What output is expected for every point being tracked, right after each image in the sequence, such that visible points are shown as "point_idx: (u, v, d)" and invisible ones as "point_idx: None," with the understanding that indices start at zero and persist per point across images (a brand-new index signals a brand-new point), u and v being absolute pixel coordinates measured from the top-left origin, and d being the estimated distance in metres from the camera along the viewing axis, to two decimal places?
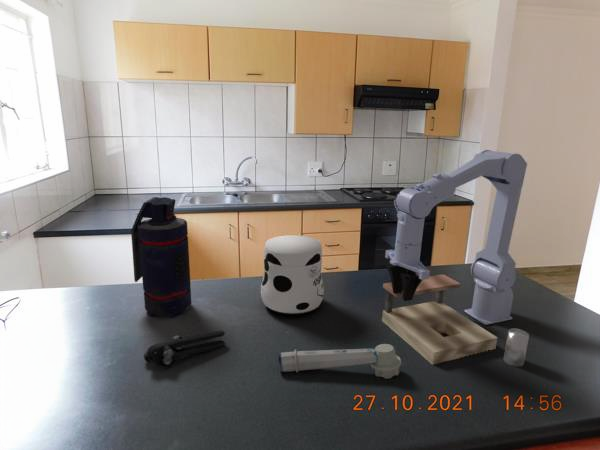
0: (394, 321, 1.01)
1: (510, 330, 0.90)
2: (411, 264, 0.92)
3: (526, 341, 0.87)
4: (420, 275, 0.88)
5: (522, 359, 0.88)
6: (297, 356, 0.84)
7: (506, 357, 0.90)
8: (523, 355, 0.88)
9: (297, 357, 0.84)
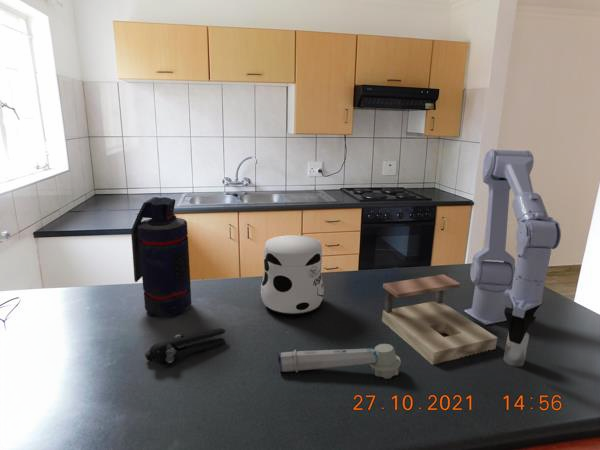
0: (394, 321, 1.01)
1: None
2: (519, 299, 0.84)
3: (526, 341, 0.87)
4: (513, 310, 0.82)
5: (522, 359, 0.88)
6: (297, 356, 0.84)
7: (506, 357, 0.90)
8: (523, 355, 0.88)
9: (297, 357, 0.84)
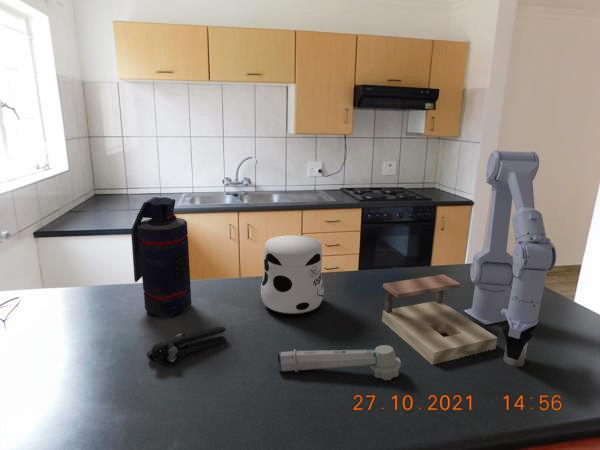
0: (394, 321, 1.01)
1: None
2: (515, 319, 0.86)
3: None
4: None
5: (522, 359, 0.88)
6: (296, 356, 0.84)
7: (506, 357, 0.90)
8: (523, 355, 0.88)
9: (296, 357, 0.84)
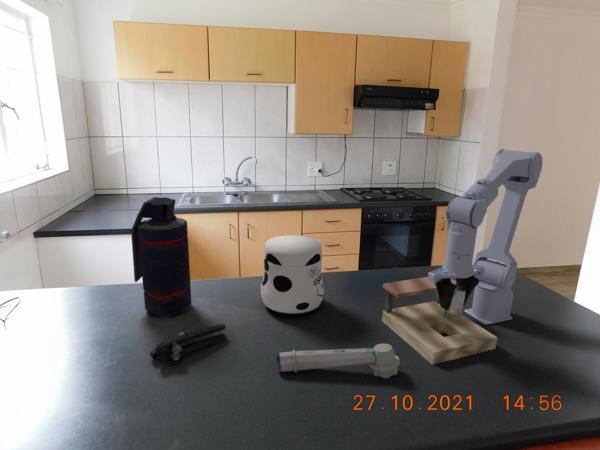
0: (394, 321, 1.01)
1: None
2: (445, 270, 0.92)
3: (459, 296, 0.92)
4: None
5: (456, 313, 0.93)
6: (296, 356, 0.84)
7: None
8: (456, 310, 0.93)
9: (296, 357, 0.84)
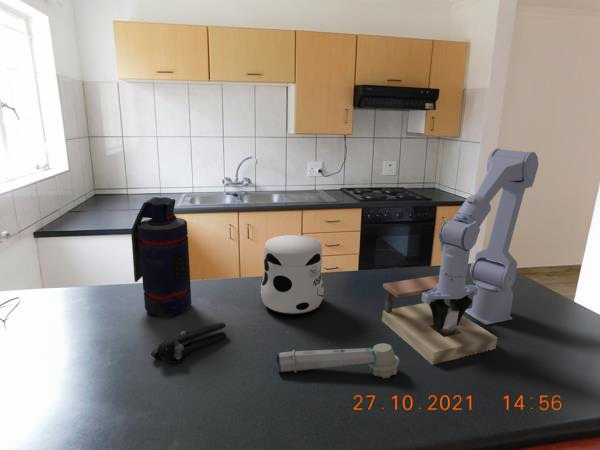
0: (394, 321, 1.01)
1: None
2: (438, 290, 0.94)
3: (452, 316, 0.93)
4: None
5: (449, 333, 0.95)
6: (295, 356, 0.84)
7: (437, 329, 0.97)
8: (449, 329, 0.94)
9: (295, 357, 0.84)
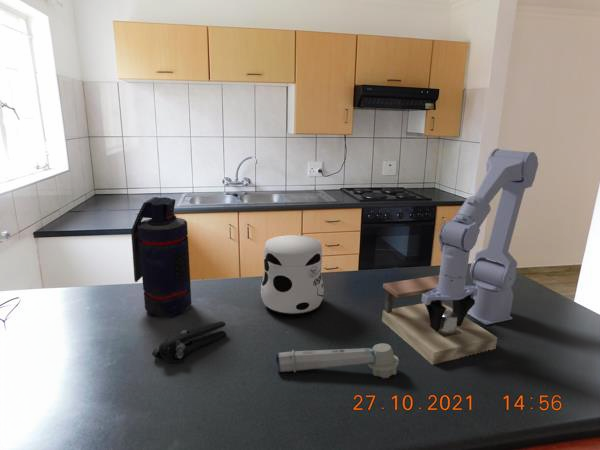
0: (394, 321, 1.01)
1: None
2: (438, 291, 0.94)
3: (451, 322, 0.94)
4: None
5: None
6: (295, 356, 0.84)
7: None
8: None
9: (295, 357, 0.84)
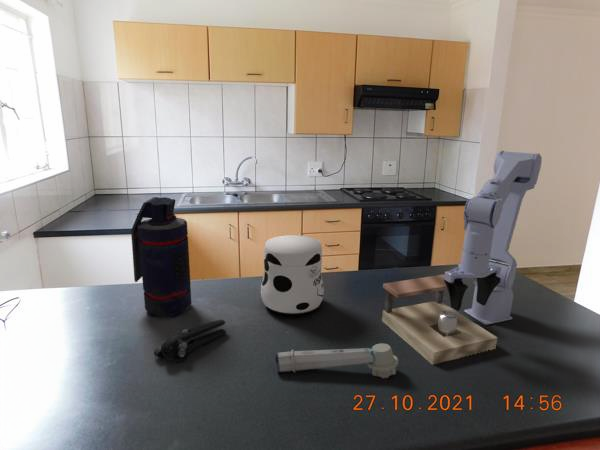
0: (394, 321, 1.01)
1: (443, 311, 0.97)
2: (461, 269, 0.92)
3: (451, 322, 0.94)
4: None
5: None
6: (294, 356, 0.84)
7: None
8: None
9: (294, 357, 0.84)
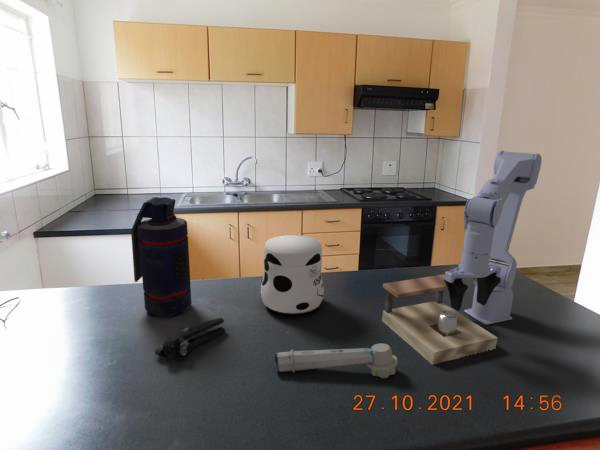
0: (394, 321, 1.01)
1: (443, 311, 0.97)
2: (461, 269, 0.92)
3: (451, 322, 0.94)
4: None
5: None
6: (293, 356, 0.84)
7: None
8: None
9: (293, 357, 0.84)
